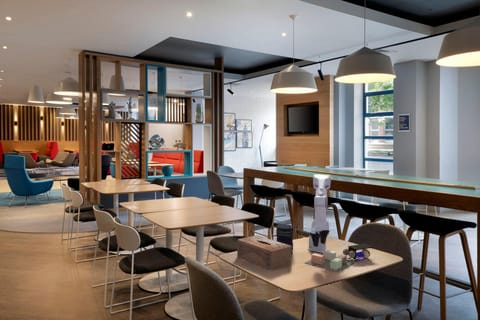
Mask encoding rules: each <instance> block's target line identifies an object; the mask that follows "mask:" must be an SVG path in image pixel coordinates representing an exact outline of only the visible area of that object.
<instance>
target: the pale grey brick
mask: <svg viewBox="0 0 480 320" xmlns="http://www.w3.org/2000/svg"><path fill="white" fill-rule="evenodd" d="M322 254H323V255H324V256H325V259H328V260H333V259H335V258H336V257H337V252H336V251H333V250H324V251H323V253H322Z"/></svg>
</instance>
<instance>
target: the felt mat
mask: <svg viewBox="0 0 480 320" xmlns="http://www.w3.org/2000/svg"><path fill="white" fill-rule="evenodd" d="M321 255H323V253H321ZM351 260H352V259H347V263H346V264H345V265H343V266H342V267H341V268H339V269H337V270H334V269H331V268H330V265H331V260H328V259H325V262H324V264H322V265H321V264H317V263H313V262H311V259H310V260H307V261H305V262H304V264H307V265H311V266H315V267H318V268H322V269H326V270H330V271H332V272H333V271H334V272H337V273H340V272H341V271H344V270H345V269H348V267H350V266H352V265H354V264H355V263H356V260H352V261H351Z"/></svg>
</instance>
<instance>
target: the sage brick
mask: <svg viewBox="0 0 480 320" xmlns="http://www.w3.org/2000/svg"><path fill="white" fill-rule="evenodd" d="M341 267H342V259H339V258H335V259H333V260H331V265H330V268H331V269H334V270H337V269H339V268H341Z"/></svg>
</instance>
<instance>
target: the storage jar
mask: <svg viewBox="0 0 480 320" xmlns="http://www.w3.org/2000/svg"><path fill="white" fill-rule="evenodd" d="M294 231H295V230H294V225H291V224H285V223H283V224H282V223H281V224H277V225H276V229H275V235H276V241H277V242H280V243H284V244H287V245H290V246H292V253H291V255H293V253H294V233H295V232H294Z"/></svg>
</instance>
